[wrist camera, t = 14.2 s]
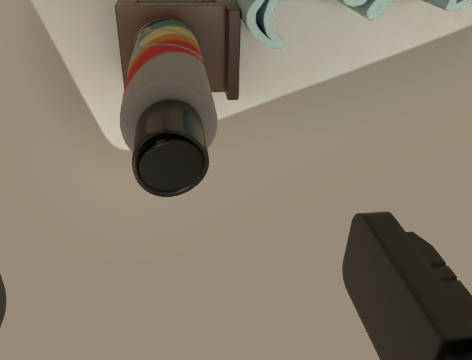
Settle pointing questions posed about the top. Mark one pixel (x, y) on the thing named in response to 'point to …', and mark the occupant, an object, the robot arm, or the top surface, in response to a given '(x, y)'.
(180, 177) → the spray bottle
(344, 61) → the top surface
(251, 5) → the squiggly pen holder
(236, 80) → the shelf
